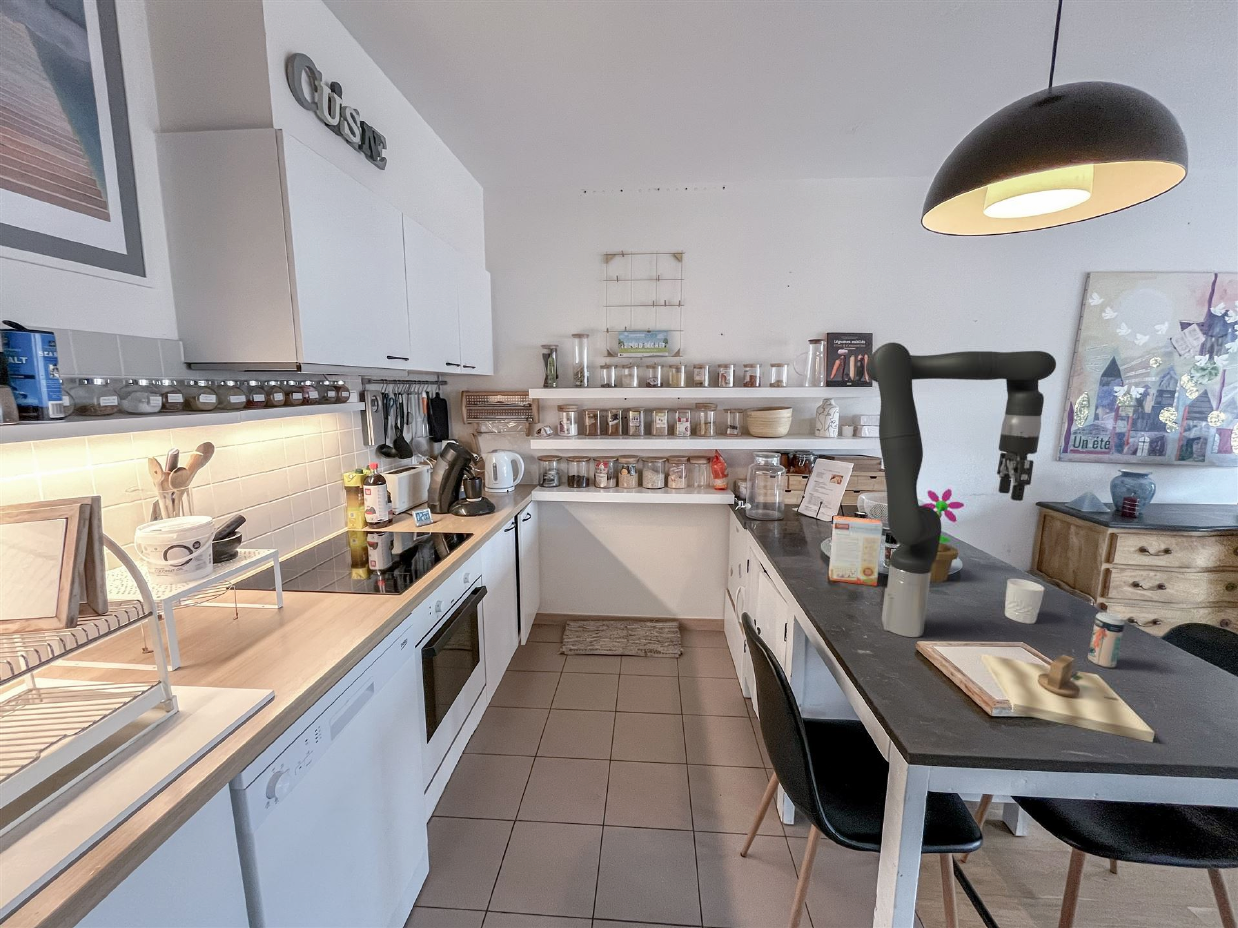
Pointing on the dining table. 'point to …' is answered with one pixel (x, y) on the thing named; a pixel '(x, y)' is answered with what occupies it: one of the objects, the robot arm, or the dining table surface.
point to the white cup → (1023, 600)
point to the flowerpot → (944, 551)
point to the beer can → (1106, 639)
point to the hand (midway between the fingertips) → (1009, 496)
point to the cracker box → (855, 550)
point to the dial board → (1066, 699)
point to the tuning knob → (1060, 677)
